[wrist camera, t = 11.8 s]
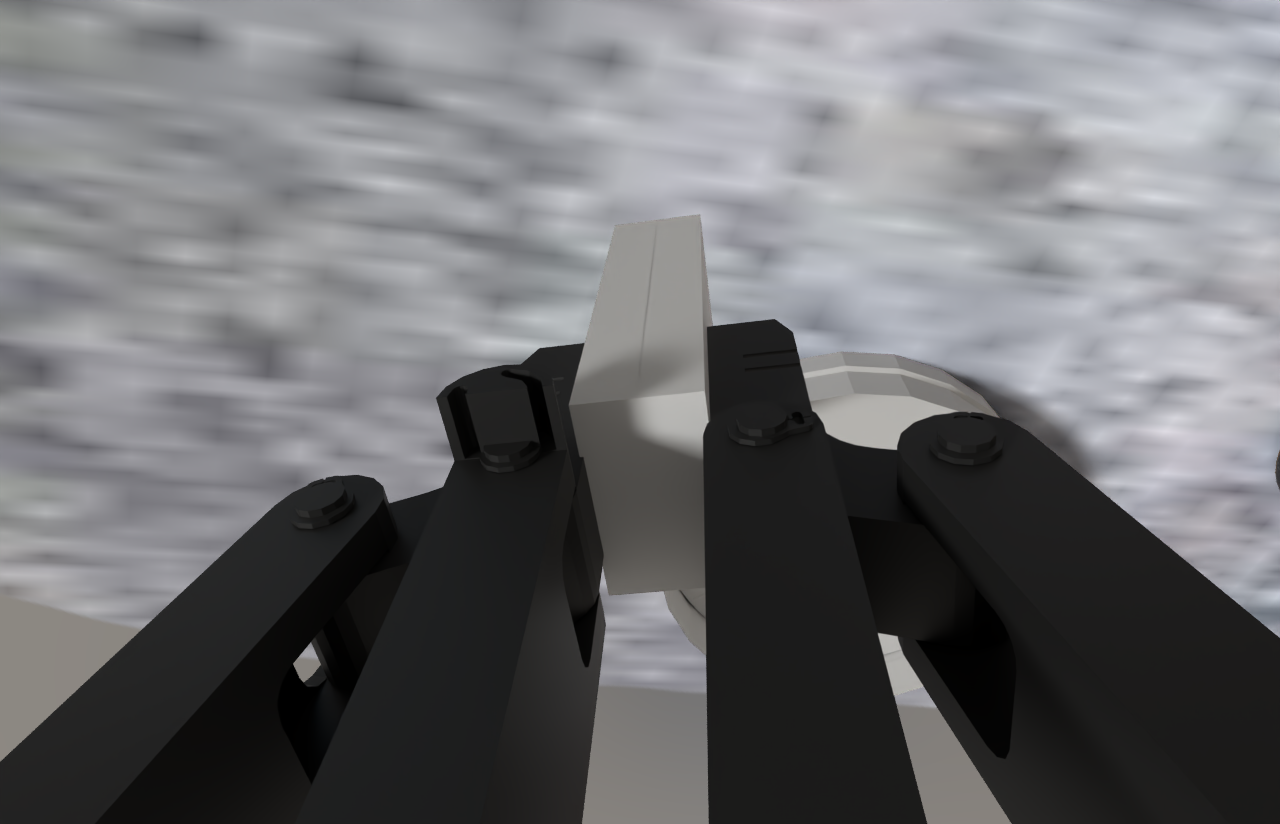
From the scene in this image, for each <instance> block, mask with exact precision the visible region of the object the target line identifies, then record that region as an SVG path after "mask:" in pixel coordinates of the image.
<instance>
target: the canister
mask: <svg viewBox="0 0 1280 824" xmlns="http://www.w3.org/2000/svg"><path fill="white" fill-rule="evenodd" d="M1275 473H1276V481H1277V484H1278V487H1279V490H1280V451H1279V454H1278V458H1277V461H1276V471H1275Z"/></svg>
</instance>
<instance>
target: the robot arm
mask: <svg viewBox="0 0 1280 824" xmlns="http://www.w3.org/2000/svg"><path fill="white" fill-rule="evenodd" d="M436 399H437V403H438V406H439V409H440V413H441V416H442V420H443V423H444V426H445V430H446V433H447V437H448V440H449V443H450V447H451V450H452V453H453V457H454V460H455V461H454V464H453V466H452V468H451V470H450V473H449V475H448V477H447V479H446V482H445V484H444V486H443V487H442V488H439V489H436V490H433V491H431V492H428V493H425V494H421V495H418V496H414V497H411V498H407V499H403V500H400V501H396V502H393V503H389V502H388V499H387V496H386V493H385V491H384V488H383V486H382V485H381V484H380V483H379V482H377V481H376V480H375V479H374V478H370V477H365V476H360V475H349V476H333V477H328V478H326V479H325V480H323V479H320V480H317V481H314V482H312V483H310V484H308V485H307V486H306V487H304V488H301V489H299V490H297V491H295V492H293V493H291V494H290V495H289V496H287V497H286V498H285V499H283V500H282V501H280V502H279V503H278V504H276V505H275V506H274V507H273V508H272V509H271V510H270V511H268V512H267V513H266V514H265V515H264V516H263V517H262V518H261V519H260V520H259V521H258V522H257V523H256V524H255V525H253V526H252V527H251V528H250V529H249V530H248V531H247V532H246V533H245V534H244V535H243V536H242V537H241V538H240V539H238V540H237V541H236V542H235V543H234V544H233V545H232V546H231V547H230V548H229V549H228V550H227V551H226V552H225V553H223V554H222V555H221V556H220V557H219V558H218V559H217V560H216V561H215V562H214V563H213V564H212V565H211V566H210V567H208V568H207V569H206V570H205V571H204V572H203V573H202V574H201V575H200V576H199V577H198V578H197V579H196V580H195V581H193V582H192V583H191V584H190V585H189V586H188V587H187V588H186V589H185V590H184V591H183V592H182V593H181V594H180V595H178V596H177V597H176V598H175V599H174V600H173V601H172V602H171V603H170V604H169V605H168V606H167V607H166V608H165V609H163V610H162V611H161V612H160V613H159V614H158V615H157V616H156V617H155V618H154V619H153V620H152V621H151V622H150V623H148V624H147V625H146V626H145V627H144V628H143V629H142V630H141V631H140V632H139V633H138V634H137V635H136V636H135V637H134V638H132V639H131V640H130V641H129V642H128V643H127V644H126V645H125V646H124V647H123V648H122V649H121V650H120V651H119V652H117V653H116V654H115V655H114V656H113V657H112V658H111V659H110V660H109V661H108V662H107V663H106V664H105V665H104V666H103V667H101V668H100V669H99V670H98V671H97V672H96V673H95V674H94V675H93V676H92V677H91V678H90V679H88V681H86V682H85V683H84V684H83V685H82V686H81V687H80V688H79V689H78V690H77V691H76V692H75V693H74V694H72V696H70V697H69V698H68V699H67V700H66V701H65V702H64V703H63V704H62V705H61V706H60V707H59V708H57V709H56V710H55V711H54V712H53V713H52V714H51V715H50V716H49V717H48V718H47V719H46V720H45V721H44V722H43V723H41V724H40V725H39V726H38V727H37V728H36V729H35V730H34V731H33V732H32V733H31V734H30V735H29V736H27V737H26V738H25V739H24V740H23V741H22V742H21V743H20V744H19V745H18V746H17V747H16V748H15V749H13V751H11V752H10V753H9V754H8V755H7V756H6V757H5V758H4V759H3V760H2V761H1V762H0V824H582V818H583V810H584V801H585V793H586V784H587V776H588V768H589V760H590V751H591V743H592V735H593V727H594V718H595V709H596V701H597V693H598V685H599V677H600V668H601V660H602V652H603V643H604V635H605V627H606V623H605V617H604V611H603V606H602V602H601V597H600V593H599V587H600V580H601V573H602V566H603V569H604V574H605V579H606V584H607V588H608V593H609V595H621V594H633V593H646V592H659V591H672V590H685V589H698V588H705V607H706V672H707V736H708V801H709V824H927V821H926V817H925V813H924V809H923V806H922V802H921V798H920V794H919V790H918V786H917V782H916V779H915V775H914V771H913V767H912V763H911V759H910V755H909V752H908V748H907V744H906V740H905V736H904V732H903V729H902V725H901V721H900V717H899V713H898V709H897V705H896V701H895V697H894V694H893V690H892V686H891V682H890V678H889V674H888V670H887V666H886V663H885V659H884V655H883V651H882V647H881V643H880V639H879V636H878V633H881V634H886V635H892V636H898V641H899V644H900V647H901V650H902V652H903V655H904V656H905V658H906V660H907V661H908V663H909V664H910V666H911V667H912V669H913V671H914V672H915V674H916V675H917V677H918V678H919V680H920V681H921V683H922V685H923V686H924V688H925V689H926V691H927V692H928V694H929V695H930V697H931V699H932V700H933V702H934V703H935V705H936V706H937V708H938V709H939V711H940V713H941V714H942V716H943V717H944V719H945V720H946V722H947V724H948V725H949V727H950V728H951V730H952V731H953V733H954V734H955V736H956V738H957V739H958V741H959V742H960V744H961V745H962V747H963V748H964V750H965V752H966V753H967V755H968V756H969V758H970V759H971V761H972V762H973V764H974V765H975V767H976V769H977V770H978V772H979V773H980V775H981V777H982V778H983V780H984V781H985V783H986V784H987V786H988V787H989V789H990V790H991V792H992V794H993V795H994V797H995V798H996V800H997V801H998V803H999V805H1000V806H1001V808H1002V809H1003V811H1004V812H1005V814H1006V815H1007V817H1008V819H1009V820H1010V822H1011V823H1012V824H1280V638H1279V637H1278V636H1277V635H1275V634H1274V633H1273V632H1272V631H1271V630H1269V629H1268V628H1267V627H1266V626H1264V625H1263V624H1262V623H1261V622H1260V621H1258V620H1257V619H1256V618H1255V617H1253V616H1252V615H1251V614H1250V613H1249V612H1247V611H1246V610H1245V609H1244V608H1243V607H1241V606H1240V605H1239V604H1238V603H1236V602H1235V601H1234V600H1233V599H1232V598H1230V597H1229V596H1228V595H1227V594H1225V593H1224V592H1223V591H1222V590H1221V589H1219V588H1218V587H1217V586H1216V585H1215V584H1213V583H1212V582H1211V581H1210V580H1208V579H1207V578H1206V577H1205V576H1204V575H1202V574H1201V573H1200V572H1199V571H1197V570H1196V569H1195V568H1194V567H1193V566H1191V565H1190V564H1189V563H1188V562H1187V561H1185V560H1184V559H1183V558H1182V557H1180V556H1179V555H1178V554H1177V553H1176V552H1174V551H1173V550H1172V549H1171V548H1169V547H1168V546H1167V545H1166V544H1165V543H1163V542H1162V541H1161V540H1160V539H1159V538H1157V537H1156V536H1155V535H1154V534H1152V533H1151V532H1150V531H1149V530H1148V529H1146V528H1145V527H1144V526H1143V525H1141V524H1140V523H1139V522H1138V521H1137V520H1135V519H1134V518H1133V517H1132V516H1131V515H1129V514H1128V513H1127V512H1126V511H1124V510H1123V509H1122V508H1121V507H1120V506H1118V505H1117V504H1116V503H1115V502H1113V501H1112V500H1111V499H1110V498H1109V497H1107V496H1106V495H1105V494H1104V493H1102V492H1101V491H1100V490H1099V489H1098V488H1096V487H1095V486H1094V485H1093V484H1092V483H1090V482H1089V481H1088V480H1087V479H1085V478H1084V477H1083V476H1082V475H1081V474H1079V473H1078V472H1077V471H1076V470H1074V469H1073V468H1072V467H1071V466H1070V465H1068V464H1067V463H1066V462H1065V461H1064V460H1062V459H1061V458H1060V457H1059V456H1057V455H1056V454H1055V453H1054V452H1053V451H1051V450H1050V449H1049V448H1048V447H1046V446H1045V445H1044V444H1043V443H1042V442H1040V441H1039V440H1038V439H1037V438H1036V437H1034V436H1033V435H1032V434H1031V433H1029V432H1028V431H1027V430H1025V429H1023V428H1021V427H1020V426H1018V425H1016V424H1014V423H1013V422H1011V421H1009V420H1005V419H1002V418H998V417H994V416H991V415H987V414H984V413H977V412H971V413H968V412H952V413H948V414H939V415H933V416H930V417H928V418H925V419H922V420H919V421H916V422H914V423H913V424H911V425H910V426H909V427H908V428H907V429H905V430H904V431H903V432H902V433H901V435H900V438H899V441H898V444H897V450H893V449H881V448H872V447H865V446H859V445H854V444H851V443H848V442H844V441H841V440H839V439H837V438H835V437H833V436H831V435H829V434H827V433H826V431H825V427H824V424H823V422H822V421H821V419H820V418H819V416H818V415H817V413H816V412H814V411H812V407H811V403H810V399H809V395H808V391H807V387H806V383H805V379H804V375H803V371H802V367H801V364H800V359H799V355H798V352H797V347H796V343H795V339H794V335H793V332H792V331H791V330H789V329H788V328H786V327H785V326H784V325H782V324H781V323H779V322H778V321H777V320H775V319H772V320H763V321H754V322H745V323H736V324H727V325H719V326H713V323H712V315H711V306H710V297H709V289H708V280H707V271H706V262H705V254H704V245H703V236H702V228H701V219H700V214H699V215H692V216H684V217H676V218H668V219H660V220H653V221H645V222H637V223H629V224H621V225H615V228H614V232H613V236H612V240H611V244H610V247H609V251H608V255H607V259H606V263H605V267H604V271H603V275H602V278H601V282H600V286H599V290H598V294H597V298H596V302H595V305H594V309H593V313H592V317H591V321H590V325H589V329H588V332H587V336H586V340H585V343H582V344H573V345H564V346H555V347H546V348H539V349H538V350H537V351H536V352H535V353H534V354H532V355H531V356H530V357H529V358H528V359H527V360H525V361H524V362H523V363H522V364H521V365H502V366H497V367H492V368H487V369H483V370H480V371H477V372H475V373H472V374H469V375H466V376H464V377H462V378H460V379H458V380H457V381H455V382H453V383H452V384H450V385H448V386H447V387H445V389H444V390H443V391H442V392H441V393H440V394H439V395H438V396H437V397H436ZM310 642H311V643H312V645H313V647H314V650H315V652H316V654H317V656H318V659H319V661H320V663H321V666H320V667H319V668H318V669H317V670H316V672H315V673H314V674H313V676H311V677H310V678H309V679H308V680H306V681H305V682H304V683H303V682H302V680H301V679H300V678H299V676H298V674H297V672H296V669H295V667H294V665H293V663H294V662H295V661H296V659H297V658H298V657H299V656H300V655H301V653H302V652H303V651H304V650H305V649H306V647H307V646H308V645H309V644H310Z"/></svg>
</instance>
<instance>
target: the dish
mask: <svg viewBox="0 0 1280 824" xmlns="http://www.w3.org/2000/svg"><path fill="white" fill-rule="evenodd" d="M800 364H801V367H802V371H803V375H804V379H805V383H806V387H807V391H808V395H809V399H810V403H811V407H812V411H814V412H816V413H817V415H818V416H819V418H820V419H821V421H822V422H823V424H824V427H825V431H826V433H827V434H829V435H831V436H833V437H835V438H837V439H839V440H841V441H844V442H848V443H851V444H854V445H859V446H865V447H872V448H881V449H893V450H897V444H898V441H899V438H900V435H901V433H902V432H903V431H904V430H905V429H907V428H908V427H909V426H910V425H911V424H913V423H914V422H916V421H919V420H922V419H925V418H928V417H930V416H933V415H939V414H948V413H952V412H968V413H971V412H977V413H984V414H987V415H991V416H994V417H998V418H1000V417H999V416H998V415H997V413H996V412H995V411H994V410H993V409H992V407H991V406H990V405H989V404H988V403H987V401H986V400H985V399H984V398H983V397H982V396H981V395H980V394H979V393H977V392H976V391H974V390H972V389H971V388H969V387H968V386H966V385H965V384H963V383H962V382H960V381H959V380H957V379H955V378H954V377H952V376H951V375H949V374H948V373H946V372H945V371H943V370H941V369H938V368H935V367H932V366H929V365H926V364H922V363H919V362H916V361H913V360H910V359H906V358H903V357H900V356H897V355H894V354H876V353H856V352H837V353H831V354H825V355H820V356H814V357H809V358H803V359H800ZM664 594H665V597H666V601H667V605H668V608H669V610H670V612H671V613H672V615H673V616H674V618H675V619H676V621H677V622H678V624H679V626H680V627H681V629H682V630H683V632H684V633H685V635H686V636H687V638H688V640H689V641H690V642H691V643H692V644H693V645H694V646H696V647H697V648H698V649H699V650H700V651H701V652H702V653H704V654H705V655H706V607H705V588H698V589H685V590H672V591H664ZM878 636H879V639H880V643H881V647H882V651H883V655H884V659H885V663H886V666H887V670H888V674H889V678H890V682H891V686H892V690H893V694H894V696H896V695H899V694H902V693H905V692H909V691H912V690H915V689H918V688H921V687H924V686H923V685H922V683H921V681H920V680H919V678H918V677H917V675H916V674H915V672H914V671H913V669H912V667H911V666H910V664H909V663H908V661H907V660H906V658H905V656H904V655H903V652H902V650H901V647H900V644H899V641H898V636H892V635H886V634H881V633H878Z"/></svg>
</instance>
